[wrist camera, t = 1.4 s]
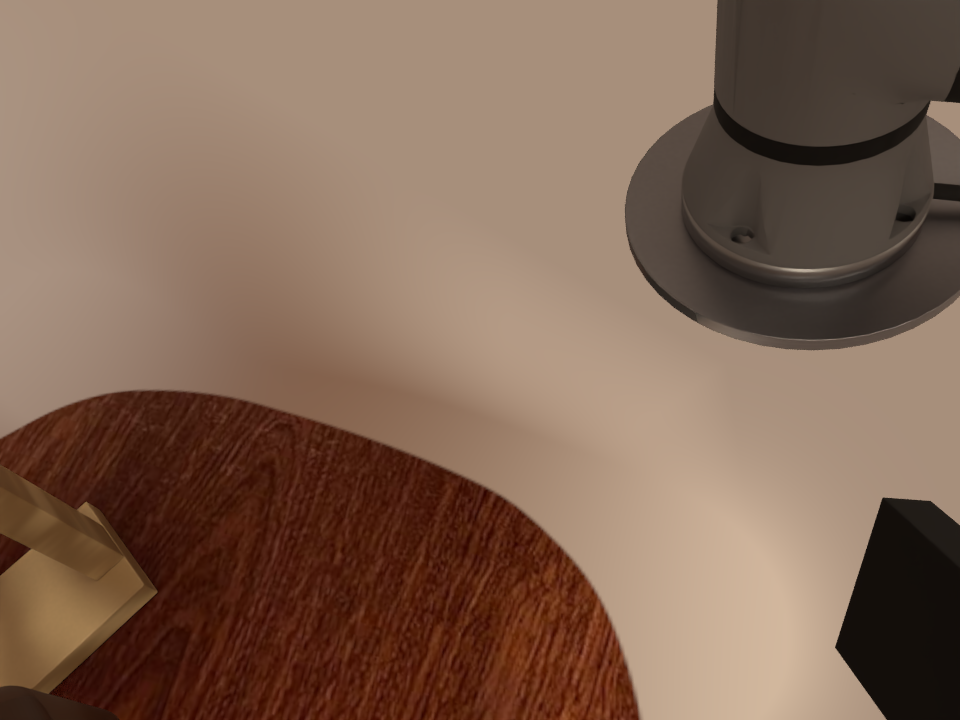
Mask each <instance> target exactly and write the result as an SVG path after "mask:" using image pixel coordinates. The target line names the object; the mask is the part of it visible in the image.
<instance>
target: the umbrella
mask: <svg viewBox="0 0 960 720" xmlns="http://www.w3.org/2000/svg"><path fill="white" fill-rule="evenodd" d="M0 720H119V719H118V717H117V716H116V715H114V714H113V713H112V712H109V711H107V710H104V709H101V708H97V707H94V706H90V705H86V704H83V703H79V702H76V701H72V700H69V699H65V698H61V697H58V696H54V695H51V694H47V693H43V692H40V691H36V690H33V689H29V688H25V687H22V686H13V685H10V686H3V687H0Z"/></svg>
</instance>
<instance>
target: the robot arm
mask: <svg viewBox="0 0 960 720" xmlns="http://www.w3.org/2000/svg"><path fill="white" fill-rule="evenodd" d="M716 31H717V32H716V54H715V78H714V87H715V88H714V102H713V106H712V108H711V111H710V113H709V115H708V117H707V119H706V121H705V124H704V126H703V128H702V130H701V132H700V134H699V137H698V139H697V141H696V143H695V145H694V147H693V150H692V152H691V154H690V156H689V158H688V160H687V162H686V164H685V168H684V171H683V176H682V215H683V219H684V222H685V225H686V227H687V230H688V232H689V234H690V235H691V237H692V239H693V240H694V241H695V243H696V244H697V245H698V247H699V248H700V249H701V250H702V251H703V252H704V253H705V254H706V255H707V256H709V257H710V258H711V259H712V260H714V261H715V262H716V263H718V264H719V265H721V266H722V267H724V268H726V269H727V270H729V271H731V272H733V273H735V274H738V275H740V276H742V277H745V278H747V279H750V280H753V281H757V282H760V283H764V284H769V285H773V286H780V287H787V288H822V287H830V286H837V285H842V284H846V283H850V282H854V281H857V280H860V279H863V278H865V277H868V276H870V275H872V274H875V273H877V272H879V271H880V270H882V269H884V268H886V267H887V266H889V265H890V264H892V263H893V262H895V261H896V260H897V259H898V258H900V257H901V256H902V255H903V254H904V253H905V252H906V251H907V250H908V249H909V248H910V247H911V246H912V244H913V243H914V242H915V240H916V239H917V237H918V235H919V233H920V232H921V229H922V227H923V224H924V222H925V219H926V216H927V214H928V211H929V209H930V206H931V203H932V199H939V200H949V201H958V202H960V185H953V184H943V183H934V176H933V170H932V161H931V152H930V144H929V135H928V126H927V118H926V114H927V110H928V107H929V104H930V101H942V102H943V101H945V102H956V103H960V0H718V4H717V29H716ZM835 648H836V649H837V651H838V652H839V653H840V655H841V656H842V658H843V659H844V660H845V662H846V663H847V665H848V666H849V668H850V669H851V670H852V672H853V673H854V675H855V676H856V677H857V679H858V680H859V681H860V683H861V684H862V686H863V687H864V688H865V690H866V691H867V693H868V694H869V695H870V697H871V698H872V700H873V701H874V702H875V704H876V705H877V706H878V708H879V709H880V711H881V712H882V714H883V715H884V716H885V718H886V719H887V720H960V525H959V524H957V523H956V522H955V521H954V520H953V519H952V518H950V517H949V516H948V515H947V514H945V513H944V512H943V511H942V510H941V509H939V508H938V507H937V506H936V505H935V504H933V503H932V502H931V501H922V500H909V499H894V498H883V499H882V502H881V505H880V508H879V511H878V514H877V517H876V520H875V523H874V527H873V530H872V533H871V536H870V539H869V542H868V546H867V549H866V552H865V555H864V559H863V561H862V564H861V568H860V571H859V574H858V577H857V580H856V583H855V586H854V590H853V593H852V596H851V599H850V603H849V606H848V609H847V612H846V615H845V618H844V621H843V624H842V628H841V631H840V634H839V637H838V640H837V643H836V646H835Z"/></svg>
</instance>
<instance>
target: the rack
mask: <svg viewBox="0 0 960 720" xmlns="http://www.w3.org/2000/svg"><path fill="white" fill-rule="evenodd" d="M0 533H1V534H3V535H5V536H7V537H9V538H11V539H13V540H15V541H17V542H19V543H21V544H23V545H25V546H27V547H29V548H31V550H30V551H28V552H27V553H26V554H25V555H24V556H23V557H22V558H20V559H19V560H18V561H17V562H16V563H15V564H13V565H12V566H11V567H10V568H9V569H8V570H7V571H5V572H4V573H3V574H2V575H1V576H0V687H3V686H10V685H13V686H22V687H25V688H29V689H33V690H36V691H40V692H43V693H47V694H49V693H50V692H51V691H52V690H53V689H54V688H55V687H56V686H57V685H58V684H60V683H61V682H62V681H63V680H64V679H65V678H66V677H67V676H68V675H69V674H70V673H71V672H72V671H74V670H75V669H76V668H77V667H78V666H79V665H80V664H81V663H82V662H83V661H84V660H85V659H86V658H88V657H89V656H90V655H91V654H92V653H93V652H94V651H95V650H96V649H97V648H98V647H99V646H100V645H102V644H103V643H104V642H105V641H106V640H107V639H108V638H109V637H110V636H111V635H112V634H113V633H114V632H116V631H117V630H118V629H119V628H120V627H121V626H122V625H123V624H124V623H125V622H126V621H127V620H128V619H130V618H131V617H132V616H133V615H134V614H135V613H136V612H137V611H138V610H139V609H140V608H141V607H142V606H144V605H145V604H146V603H147V602H148V601H149V600H150V599H151V598H152V597H153V596H154V595H155V594H156V593H157V590H156V588H155V587H154V586H153V584H152V583H151V581H150V580H149V579H148V577H147V576H146V574H145V573H144V571H143V570H142V569H141V567H140V566H139V564H138V563H137V562H136V560H135V559H134V557H133V556H132V555H131V553H130V552H129V550H128V549H127V547H126V546H125V545H124V543H123V542H122V540H121V539H120V538H119V536H118V535H117V533H116V532H115V531H114V529H113V528H112V526H111V525H110V523H109V522H108V521H107V519H106V518H105V516H104V515H103V514H102V512H101V511H100V510H99V509H97V508H96V507H94V506H92V505H91V504H89V503H88V502H85V503H84V504H83V505H82V506H81V507H79V508H78V509H77V510H75V509H74V508H72V507H70V506H69V505H67V504H65V503H64V502H62V501H60V500H59V499H57V498H55V497H54V496H52V495H50V494H49V493H47V492H45V491H44V490H42V489H40V488H39V487H37V486H35V485H34V484H32V483H30V482H28V481H27V480H25V479H23V478H22V477H20V476H18V475H17V474H15V473H13V472H12V471H10V470H8V469H7V468H5V467H3V466H2V465H0Z"/></svg>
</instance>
